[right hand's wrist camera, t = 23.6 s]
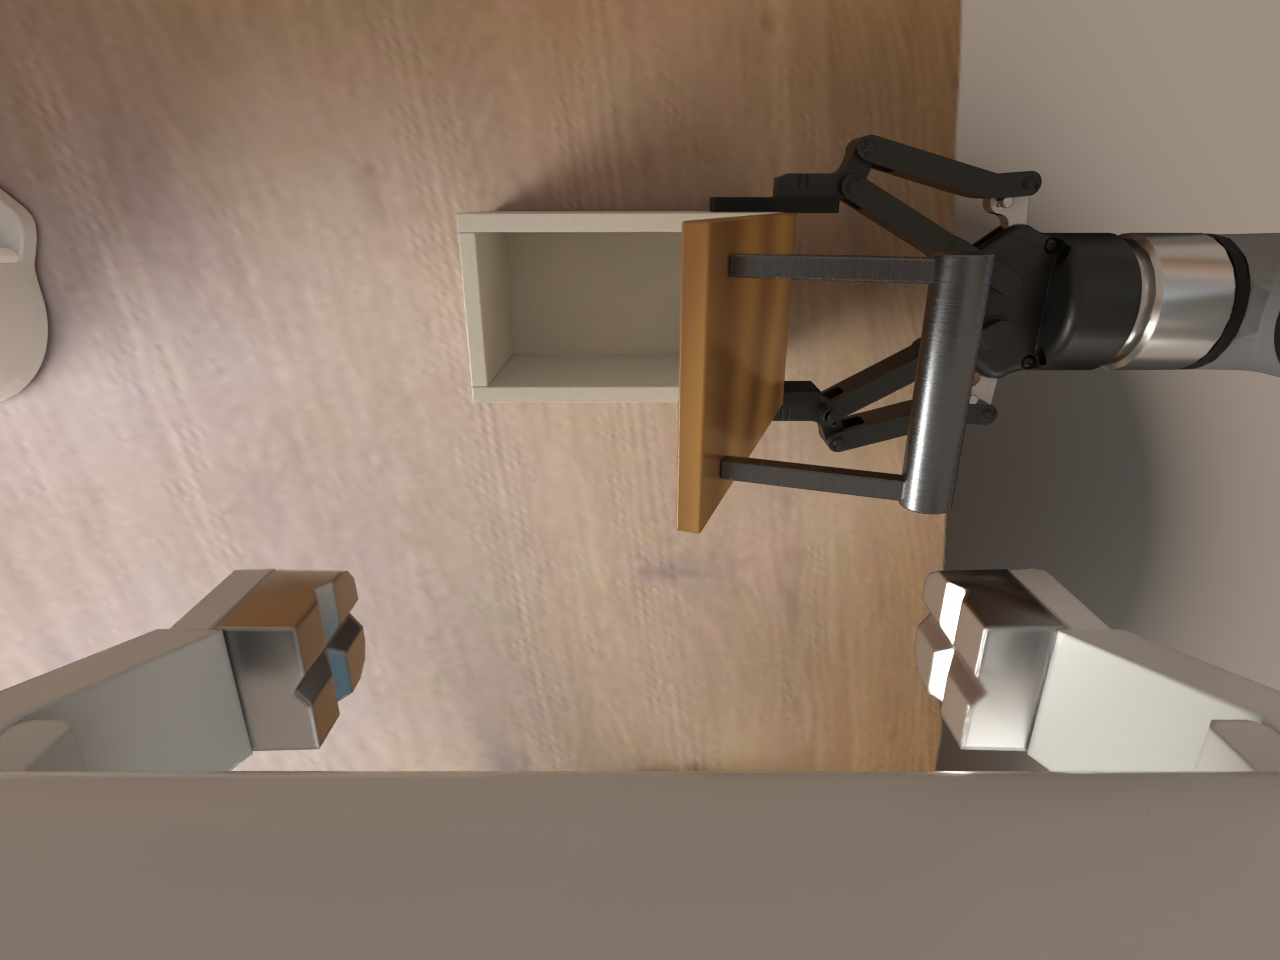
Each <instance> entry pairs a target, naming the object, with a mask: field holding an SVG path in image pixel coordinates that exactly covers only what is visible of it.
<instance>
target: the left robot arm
mask: <svg viewBox="0 0 1280 960" xmlns="http://www.w3.org/2000/svg"><path fill="white" fill-rule="evenodd" d="M845 153H846V155H845V157H844V159H843V162H842V164H841V166H840V167H839V169H838V170H837V171H835V172H834V173H832V174H784V175H781V176H779V177H777V178H774V189H773V197H711V198H710V212H783V213H838V212H839V201H842V202H843V203H845V204H846V205H848V206H850V207H851V208H853V209H854V210H856V211H858V212H859V213H861V214H862V215H864V216H865V217H867V218H869V219H870V220H872V221H873V222H875V223H877V224H878V225H880V226H881V227H883V228H885V229H886V230H888V231H889V232H891V233H893V234H894V235H896V236H897V237H899V238H900V239H902V240H904V241H905V242H907V243H908V244H910V245H912V246H913V247H915V248H916V249H918V250H920V251H921V252H923V253H924V254H925V255H926V256H927V257H933V254H934V253H935V252H945V251H963V252H985V253H992V254H994V262H993V268H992V274H991V280H990V286H989V291H988V297H987V303H986V309H985V315H984V321H983V327H982V332H981V338H980V344H979V350H978V356H977V362H976V367H975V374H974V379H973V385H972V391H971V397H970V403H969V408H968V414H967V420H966V423H967V424H980V425H988V424H990V423H992V422H993V421H994V420H995V419H996V417H997V410H996V408H995V407H994V406H992V405H991V401H992V398H993V394H994V390H995V387H996V383H997V379H998V378H1001V377H1004V376H1006V375H1007V374H1009V373H1012V372H1015V371H1019V370H1092V369H1095V368H1100V369H1103V370H1175V369H1218V370H1246V371H1255V372H1261V373H1266V374H1269V375H1273V376H1276V377H1280V233H1259V234H1220V235H1217V234H1204V233H1127V234H1121V235H1119V236H1118V235H1115V234H1112V233H1041V232H1038V231H1036V230H1034V229H1033V228H1032V227H1030V226H1028V225H1027V218H1028V209H1029V199H1030V195H1033V194H1035V193H1036V192H1037V191H1038V190H1039V188H1040V186H1041V183H1042V181H1041V176H1040V175H1039V174H1038V173H1037V172H1035V171H1025V172H1011V173H1000V174H997V173H994V172H990V171H987V170H984V169H981V168H978V167H975V166H971V165H968V164H965V163H962V162H958V161H955V160H952V159H949V158H946V157H942V156H939V155H936V154H933V153H930V152H926V151H923V150H920V149H917V148H914V147H910V146H907V145H904V144H901V143H897V142H894V141H891V140H888V139H885V138H881V137H878V136H875V135H868V136H864V137H861V138H857V139H854V140H852V141H851V142H850V143H849V144H848V145H847V147H846V152H845ZM871 168H872V169H875V170H878V171H881V172H885V173H888V174H891V175H894V176H898V177H901V178H904V179H907V180H911V181H914V182H917V183H921V184H924V185H927V186H930V187H934V188H937V189H940V190H943V191H947V192H950V193H953V194H956V195H960V196H964V197H968V198H983V207H984V209H985V211H987V212H988V213H991V214H995V215H997V216H998V217H999V219H1000V221H1001V226H999V227H997V228H996V229H994V230H993V231H991V232H990V233H988V234H987V235H985V236H984V237H983V238H981V239H980V240H978V241H977V242H975V243H974V244H972V245H971V244H970V243H968V242H967V241H965V240H963V239H961V238H959V237H956V236H954V235H953V234H951V233H950V232H948V231H946V230H945V229H943V228H942V227H940V226H939V225H937V224H935V223H934V222H932V221H931V220H929V219H928V218H926V217H925V216H923V215H921V214H920V213H918V212H917V211H915V210H914V209H912V208H910V207H909V206H907V205H906V204H904V203H903V202H901V201H900V200H898V199H896V198H895V197H893V196H892V195H890V194H889V193H887V192H886V191H884V190H882V189H881V188H879V187H878V186H876V185H875V184H873V183H871V182H870V181H868V180H867V179H866V178H867V175H868V173H869V171H870V169H871ZM920 342H921V338H919V339H917V340H915V341H914V342H913V343H912V345H911V346H909V347H907V348H905V349H903V350H901V351H899V352H897V353H896V354H894V355H892V356H890V357H888V358H886V359H884V360H882V361H880V362H878V363H876V364H874V365H872V366H870V367H868V368H866V369H864V370H863V371H861V372H859V373H857V374H855V375H853V376H851V377H849V378H847V379H845V380H843V381H841V382H839V383H837V384H835V385H833V386H831V387H829V388H828V389H826V390H824V391H822V392H821V391H820V390H819V389H818V388H817V387H816V386H815V385H814V384H813V383H812V382H811V381H784V393H783V404H782V406H781V407H780V409H779V411H778V412H777V414H776V415H775V417H774V418H773V420H772V421H815V422H817V424H818V428H819V434H820V436H821V438H822V439H823V440H824V442H825V443H826V444H827V446H828V447H829V448H830V449H831V450H832V451H834V452H841V451H845V450H849V449H853V448H857V447H861V446H865V445H869V444H873V443H877V442H881V441H885V440H889V439H893V438H897V437H901V436H905V435H907V434H908V427H909V420H910V413H911V406H912V400H908V401H904V402H901V403H897V404H893V405H889V406H885V407H881V408H877V409H873V410H869V411H865V412H861V413H858V414H854V415H850V416H847V415H849V414H851V413H853V412H855V411H857V410H859V409H861V408H863V407H865V406H867V405H869V404H871V403H873V402H875V401H877V400H879V399H881V398H883V397H885V396H887V395H889V394H891V393H893V392H895V391H897V390H899V389H901V388H903V387H905V386H907V385H909V384H911V383H913V382H915V378H916V371H917V364H918V356H919V349H920ZM845 416H846V417H845Z"/></svg>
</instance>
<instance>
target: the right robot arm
mask: <svg viewBox="0 0 1280 960" xmlns="http://www.w3.org/2000/svg"><path fill="white" fill-rule="evenodd" d="M36 246H37V230H36V225H35V221H34V219H33V217H32V216H31V214H30V213H29V212H28V211H27V210H26V209H25V208H24V207H23V206H22V205H21V204H19V203H18V202H17V201H16V200H14V199H13V198H12V197H11V196H9V195H8V194H7V193H6V192H4V191H3V190H2V189H1V188H0V402H2V401H4V400H7V399H9V398H11V397H12V396H14V395H16V394H17V393H19V392H20V391H21V390H23V389H24V388H25V387H26V386H27V385H28V384H29V383H30V382H31V381H32V379H33V378H34V377H35V375H36V374H37V372H38V370H39V368H40V366H41V364H42V362H43V359H44V356H45V352H46V348H47V341H48V320H47V312H46V307H45V303H44V299H43V296H42V292H41V289H40V286H39V283H38V280H37V276H36V271H35V265H34V264H35V256H36ZM357 601H358V595H357V590H356V585H355V580H354V578H353V577H352V575H351V574H350V573H349V572H348V571H328V570H276V569H249V570H235V571H234V572H232V573H231V574H230V575H229V576H228V577H227V578H226V579H225V580H224V581H222V582H221V583H220V584H219V585H218V586H217V587H216V588H215V589H213V590H212V591H211V592H210V593H209V594H208V595H207V596H206V597H205V598H203V599H202V600H201V601H200V602H199V603H198V604H197V605H196V606H194V607H193V608H192V609H191V610H190V611H189V612H188V613H187V614H186V615H184V616H183V617H182V618H181V619H180V620H179V621H178V622H177V623H175V624H174V625H173V626H172V627H171V628H170V629H157V630H154V631H152V632H149V633H147V634H144V635H142V636H139V637H137V638H134V639H131V640H129V641H126V642H124V643H121V644H119V645H116V646H114V647H111V648H109V649H106V650H104V651H101V652H98V653H96V654H93V655H91V656H88V657H86V658H83V659H81V660H78V661H76V662H73V663H71V664H68V665H66V666H63V667H60V668H58V669H55V670H53V671H50V672H48V673H45V674H43V675H40V676H38V677H35V678H33V679H30V680H28V681H25V682H22V683H20V684H17V685H15V686H12V687H10V688H7V689H5V690H2V691H0V960H1280V691H1277V690H1275V689H1272V688H1270V687H1267V686H1265V685H1262V684H1260V683H1257V682H1255V681H1252V680H1250V679H1247V678H1245V677H1242V676H1239V675H1237V674H1234V673H1232V672H1229V671H1227V670H1224V669H1222V668H1219V667H1217V666H1214V665H1212V664H1209V663H1207V662H1204V661H1202V660H1199V659H1196V658H1194V657H1191V656H1189V655H1186V654H1184V653H1181V652H1179V651H1176V650H1174V649H1171V648H1169V647H1166V646H1164V645H1161V644H1159V643H1156V642H1154V641H1151V640H1148V639H1146V638H1143V637H1141V636H1138V635H1136V634H1133V633H1131V632H1128V631H1126V630H1123V629H1110V628H1109V627H1108V626H1107V625H1106V624H1105V623H1103V622H1102V621H1101V620H1100V619H1099V618H1098V617H1097V616H1096V615H1094V614H1093V613H1092V612H1091V611H1090V610H1089V609H1088V608H1087V607H1086V606H1084V605H1083V604H1082V603H1081V602H1080V601H1079V600H1078V599H1077V598H1076V597H1074V596H1073V595H1072V594H1071V593H1070V592H1069V591H1068V590H1067V589H1066V588H1064V587H1063V586H1062V585H1061V584H1060V583H1059V582H1058V581H1057V580H1056V579H1054V578H1053V577H1052V576H1051V575H1050V574H1049V573H1048V572H1047V571H1043V570H1040V569H1017V570H1007V569H999V570H959V571H958V570H957V571H935V572H930V573H929V575H928V577H927V579H926V581H925V583H924V589H923V595H922V601H923V602H924V604H925V605H926V607H927V608H928V610H929V611H930V614H929V615H928V616H927V617H926V618H925V619H924V620H923V621H922V622H921V623H920V624H919V625H918V626H917V632H916V639H915V658H916V667H917V670H918V674H919V677H920V680H921V682H922V684H923V685H924V687H925V689H926V691H927V693H929V694H931V695H932V696H934V697H936V698H937V699H939V700H940V701H942V708H941V713H940V715H941V716H942V718H943V720H944V721H945V723H946V725H947V727H948V728H949V730H950V732H951V733H952V735H953V736H954V738H955V740H956V742H957V743H958V745H959V747H960V748H961V749H972V750H1010V751H1028V752H1027V754H1028V755H1029V756H1031V757H1032V758H1034V759H1035V760H1036V761H1038V762H1039V763H1040V764H1042V765H1043V766H1044V767H1046V768H1047V769H1049V770H1050V771H230V770H232V769H233V768H235V767H236V766H237V765H239V764H240V763H241V762H243V761H244V760H245V759H247V758H248V757H249V756H251V755H252V754H253V753H252V751H270V750H306V749H319V748H320V747H321V745H322V743H323V742H324V740H325V738H326V737H327V735H328V733H329V732H330V730H331V728H332V727H333V725H334V723H335V721H336V720H337V718H338V716H339V715H340V713H339V708H338V701H340V700H341V699H343V698H344V697H346V696H348V695H349V694H351V693H353V691H354V689H355V687H356V685H357V683H358V682H359V680H360V678H361V673H362V669H363V665H364V661H365V638H364V631H363V626H362V625H361V624H360V623H359V622H358V621H357V620H356V619H355V618H354V617H353V616H352V615H351V614H350V611H351V610H352V608H353V607H354V605H355V604H356V602H357Z"/></svg>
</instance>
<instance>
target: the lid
mask: <svg viewBox="0 0 1280 960" xmlns="http://www.w3.org/2000/svg"><path fill="white" fill-rule="evenodd" d="M795 228H796V213H772V214H760V215H748V216H736V217H724V218H712V219H701V220H689V221H683V222H682V238H681V293H680V347H679V401H678V456H677V510H676V529H677V530H679V531H686V532H693V533H701V531H702V529H703V528H704V526H705V525H706V523H707V522H708V520H709V518H710V517H711V515H712V514H713V512H714V511H715V509H716V508H717V506H718V504H719V503H720V501H721V500H722V498H723V497H724V495H725V493H726V492H727V490H728V489H729V487H730V486H731V484H732V482H733V481H742V482H751V483H759V484H767V485H775V486H783V487H791V488H800V489H808V490H816V491H824V492H832V493H841V494H849V495H857V496H865V497H873V498H881V499H890V500H898V501H899V504H900V505H901V506H902V507H904V508H906V509H908V510H911V511H914V512H918V513H923V514H943V513H946V512H948V511H950V509H951V508H952V502H953V496H954V490H955V484H956V478H957V473H958V467H959V461H960V455H961V449H962V443H963V438H964V432H965V426H966V420H967V414H968V408H969V403H970V397H971V391H972V385H973V379H974V373H975V367H976V362H977V356H978V350H979V344H980V338H981V332H982V327H983V321H984V315H985V309H986V303H987V297H988V291H989V286H990V280H991V274H992V268H993V262H994V254H992V253H985V252H963V251H945V252H935V253H934V254H933V257H897V256H849V255H802V254H794V242H795ZM792 279H803V280H834V281H866V282H897V283H929V285H928V293H927V300H926V307H925V314H924V321H923V328H922V335H921V342H920V349H919V356H918V364H917V371H916V378H915V385H914V392H913V399H912V406H911V413H910V420H909V427H908V434H907V442H906V449H905V456H904V463H903V470H902V475H898V474H889V473H880V472H871V471H862V470H853V469H844V468H835V467H827V466H818V465H809V464H800V463H791V462H782V461H773V460H764V459H755V458H748V457H749V456H750V454H751V453H752V451H753V450H754V448H755V446H756V445H757V443H758V442H759V440H760V439H761V437H762V436H763V434H764V432H765V431H766V429H767V428H768V426H769V425H770V423H771V421H772V420H773V418H774V417H775V415H776V414H777V412H778V411H779V409H780V407H781V406H782V404H783V393H784V379H785V365H786V352H787V338H788V324H789V310H790V297H791V283H792Z"/></svg>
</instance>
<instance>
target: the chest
mask: <svg viewBox="0 0 1280 960" xmlns="http://www.w3.org/2000/svg"><path fill="white" fill-rule="evenodd" d="M772 213H783V212H710V210H657V211H485V212H469V213H457V214H456V217H457V228H458V232H459V233H458V238H459V249H460V260H461V272H462V283H463V294H464V305H465V316H466V328H467V339H468V350H469V361H470V372H471V384H472V386H473V387H472V396H473V402H474V403H496V402H678V401H679V347H680V293H681V238H682V222H683V221H689V220H701V219H712V218H724V217H736V216H748V215H760V214H772Z"/></svg>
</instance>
